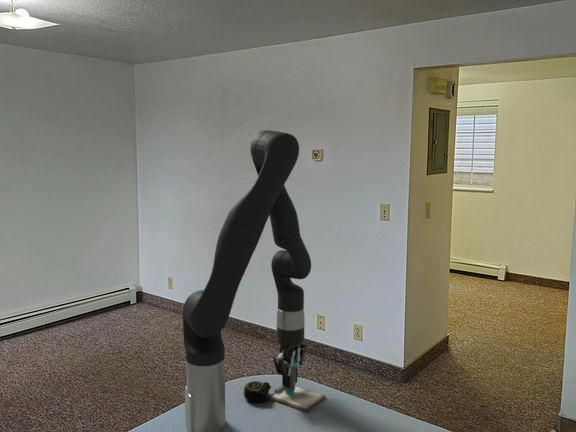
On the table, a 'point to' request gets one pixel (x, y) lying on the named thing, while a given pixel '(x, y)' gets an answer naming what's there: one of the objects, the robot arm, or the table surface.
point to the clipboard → (297, 398)
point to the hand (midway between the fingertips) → (290, 384)
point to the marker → (293, 374)
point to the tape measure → (256, 391)
